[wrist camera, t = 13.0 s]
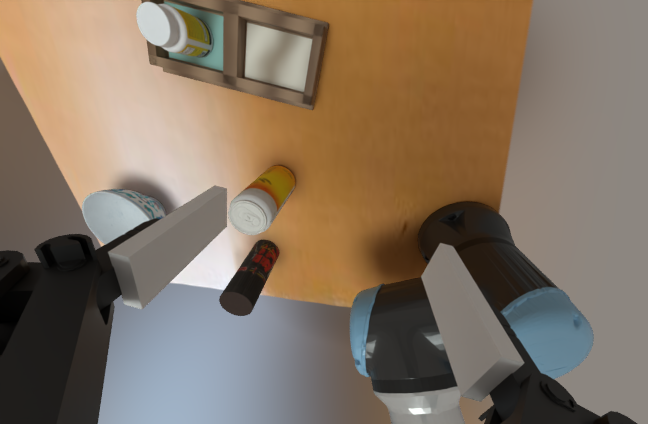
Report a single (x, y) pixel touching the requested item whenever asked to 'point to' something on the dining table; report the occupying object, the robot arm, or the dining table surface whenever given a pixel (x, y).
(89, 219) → the chinaware
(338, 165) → the dining table surface
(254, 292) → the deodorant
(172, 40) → the supplement bottle
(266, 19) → the divided tray
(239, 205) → the yellow canister
